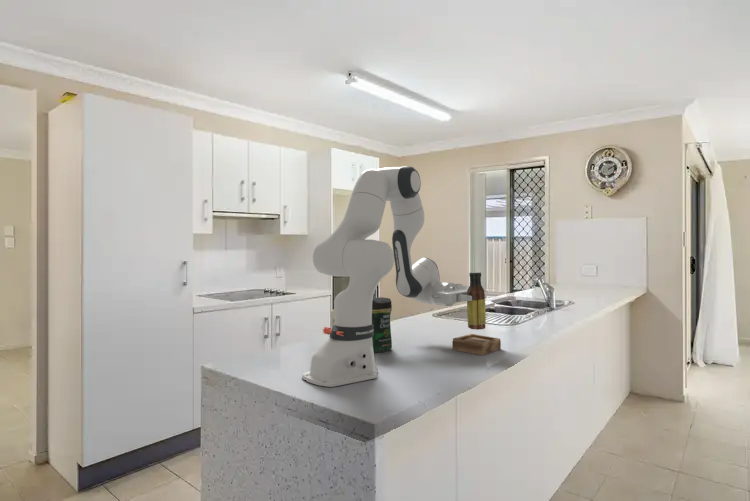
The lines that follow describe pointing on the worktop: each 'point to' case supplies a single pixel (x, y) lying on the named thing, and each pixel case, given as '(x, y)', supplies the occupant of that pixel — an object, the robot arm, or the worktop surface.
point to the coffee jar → (381, 324)
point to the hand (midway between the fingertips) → (478, 297)
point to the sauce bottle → (476, 302)
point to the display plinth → (476, 344)
